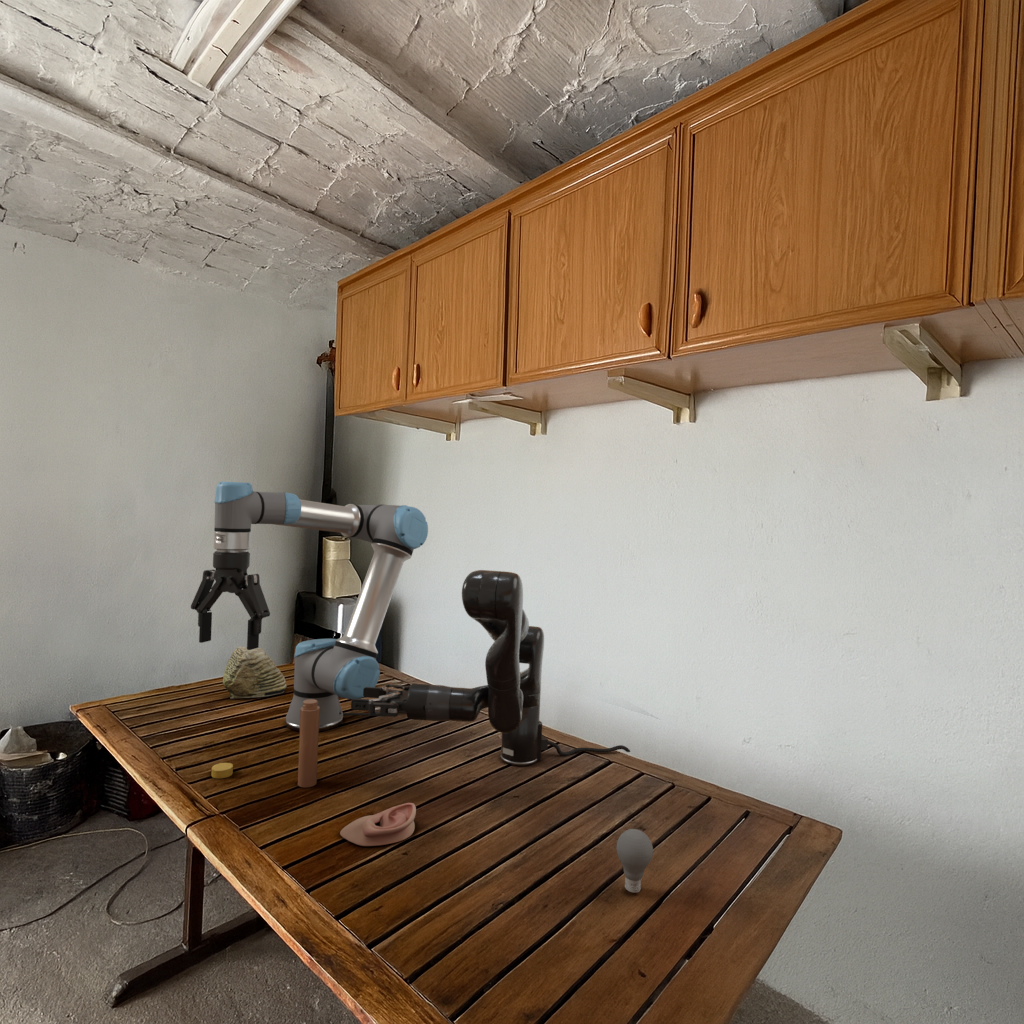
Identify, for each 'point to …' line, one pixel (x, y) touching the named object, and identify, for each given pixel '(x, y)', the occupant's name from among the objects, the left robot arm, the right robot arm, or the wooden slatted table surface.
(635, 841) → the light bulb
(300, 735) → the brown long cylinder
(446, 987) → the wooden slatted table surface
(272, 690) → the fossil
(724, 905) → the wooden slatted table surface
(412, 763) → the wooden slatted table surface
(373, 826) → the anatomical model
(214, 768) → the lid
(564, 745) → the wooden slatted table surface
